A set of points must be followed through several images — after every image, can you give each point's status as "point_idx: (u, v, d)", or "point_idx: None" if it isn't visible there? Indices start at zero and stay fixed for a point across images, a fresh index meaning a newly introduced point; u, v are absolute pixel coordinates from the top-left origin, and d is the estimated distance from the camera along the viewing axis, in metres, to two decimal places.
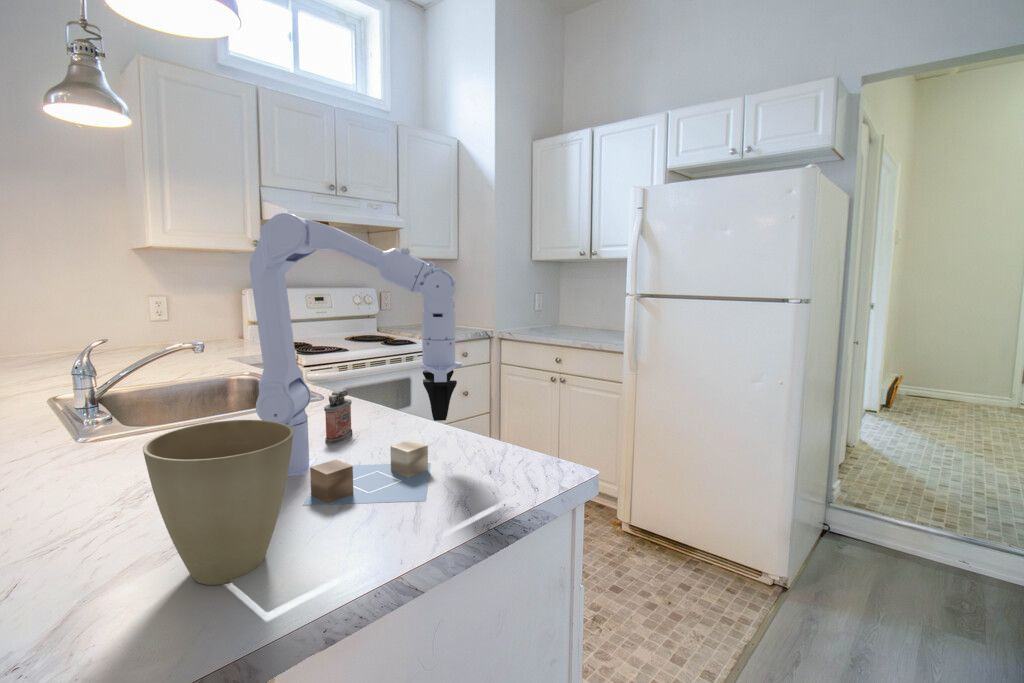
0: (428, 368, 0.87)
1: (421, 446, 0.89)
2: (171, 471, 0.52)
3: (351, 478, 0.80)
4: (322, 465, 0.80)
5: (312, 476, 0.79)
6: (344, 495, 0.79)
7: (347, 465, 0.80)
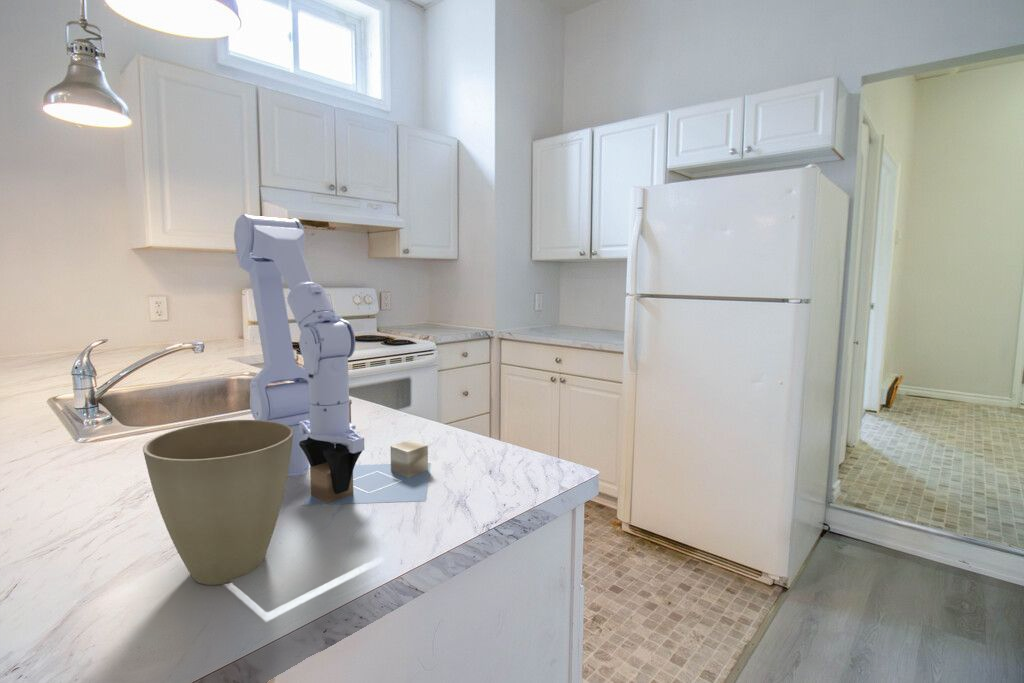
0: (333, 438, 0.75)
1: (421, 446, 0.89)
2: (171, 471, 0.52)
3: (351, 478, 0.80)
4: (322, 465, 0.80)
5: (312, 476, 0.79)
6: (344, 495, 0.79)
7: None
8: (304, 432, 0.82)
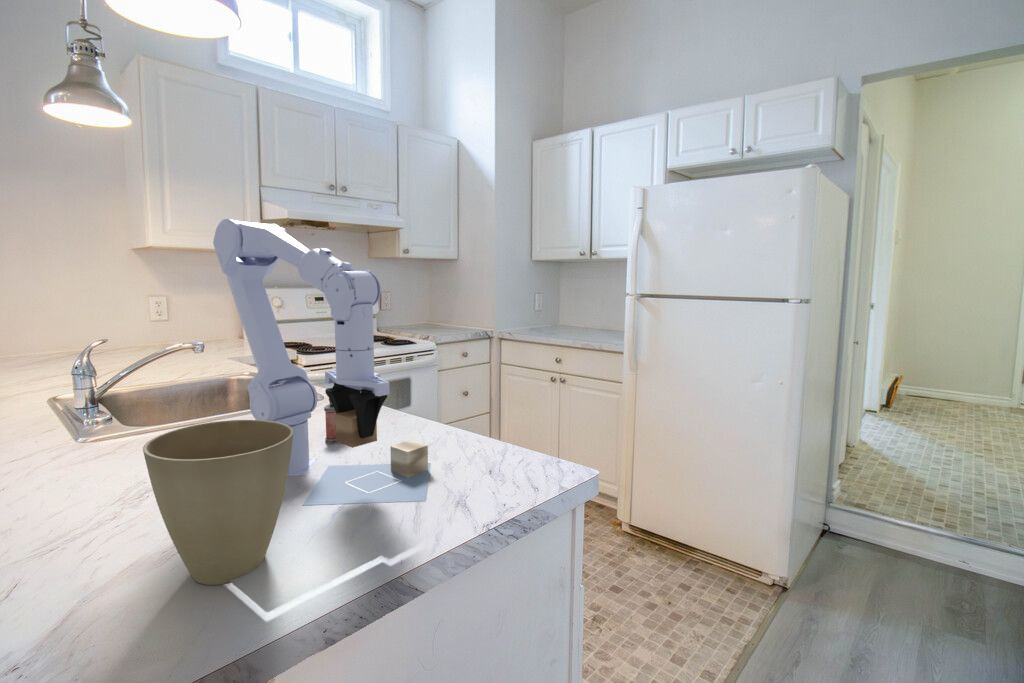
0: (359, 383, 0.77)
1: (421, 446, 0.89)
2: (171, 471, 0.52)
3: None
4: (347, 412, 0.82)
5: (337, 422, 0.81)
6: (368, 441, 0.81)
7: None
8: (330, 381, 0.84)
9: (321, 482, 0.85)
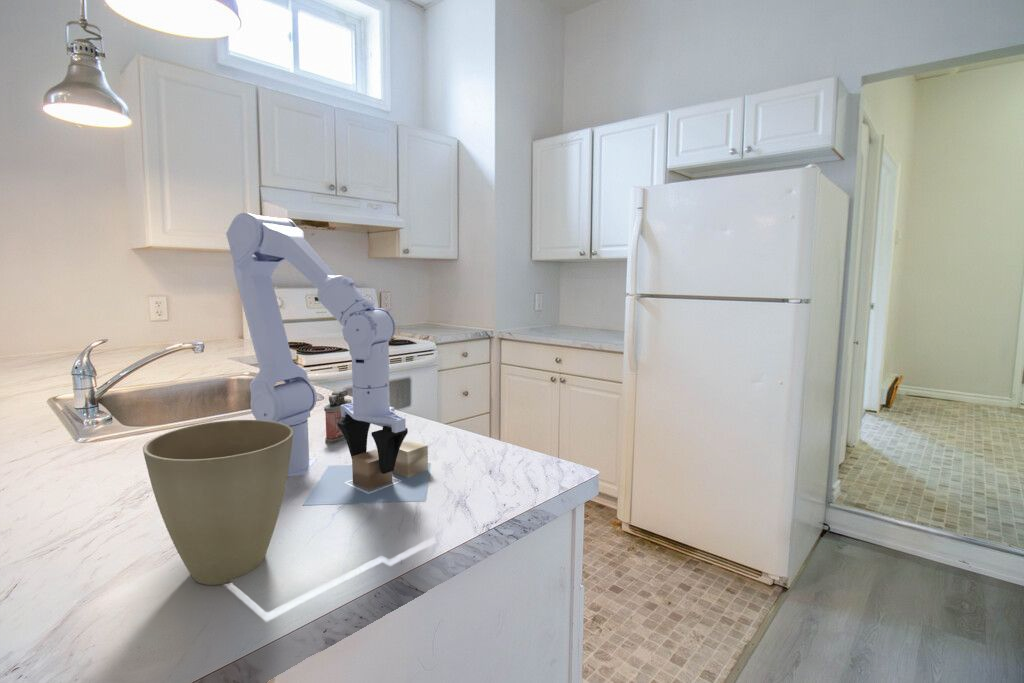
0: (376, 419, 0.80)
1: (421, 446, 0.89)
2: (171, 471, 0.52)
3: None
4: (363, 454, 0.85)
5: (354, 465, 0.84)
6: (384, 483, 0.84)
7: None
8: (345, 415, 0.87)
9: (321, 482, 0.85)
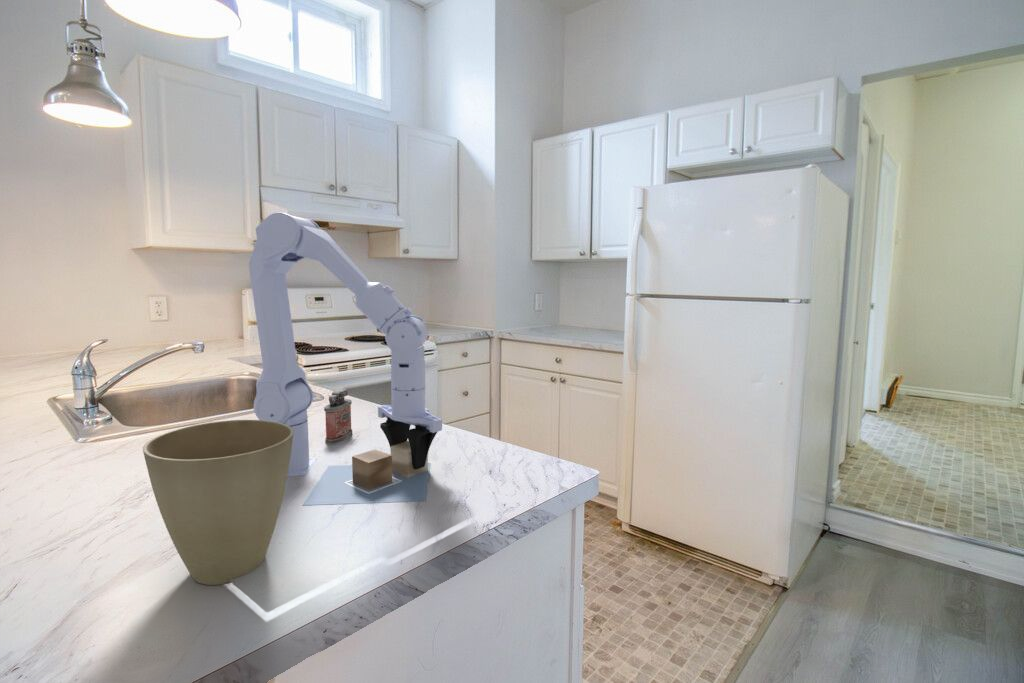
0: (414, 420, 0.85)
1: None
2: (171, 471, 0.52)
3: (390, 467, 0.85)
4: (363, 454, 0.85)
5: (354, 465, 0.84)
6: (384, 483, 0.84)
7: (386, 454, 0.85)
8: (382, 416, 0.92)
9: (321, 482, 0.85)
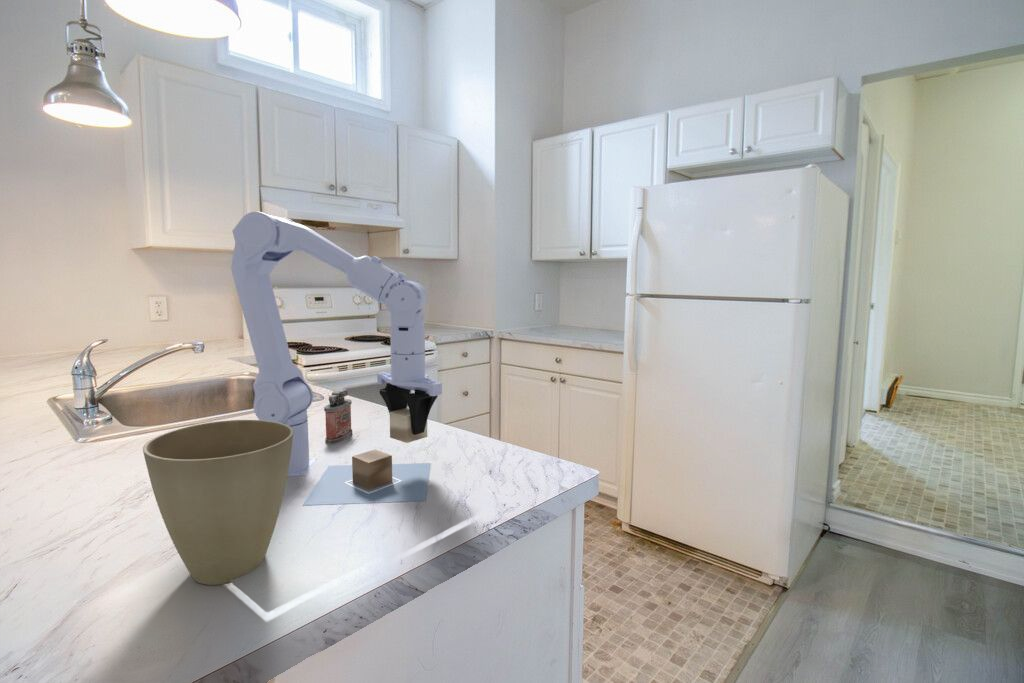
0: (414, 384, 0.84)
1: None
2: (171, 471, 0.52)
3: (390, 467, 0.85)
4: (363, 454, 0.85)
5: (354, 465, 0.84)
6: (384, 483, 0.84)
7: (386, 454, 0.85)
8: (382, 382, 0.92)
9: (321, 482, 0.85)
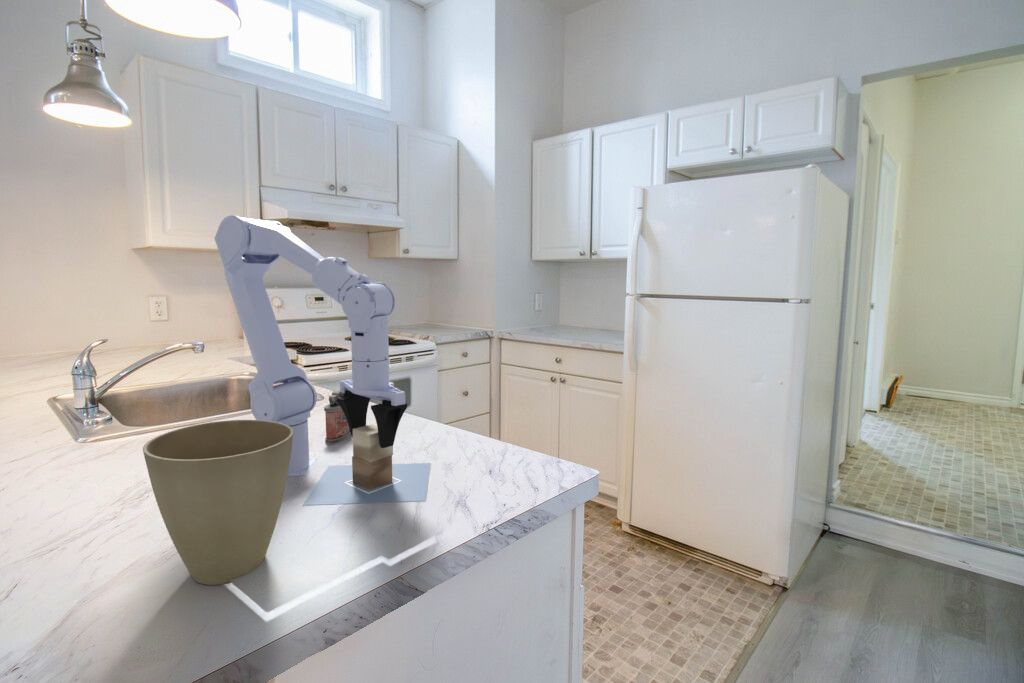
0: (375, 392, 0.79)
1: None
2: (171, 471, 0.52)
3: (390, 467, 0.85)
4: None
5: (354, 465, 0.84)
6: (384, 483, 0.84)
7: None
8: (344, 390, 0.87)
9: (321, 482, 0.85)
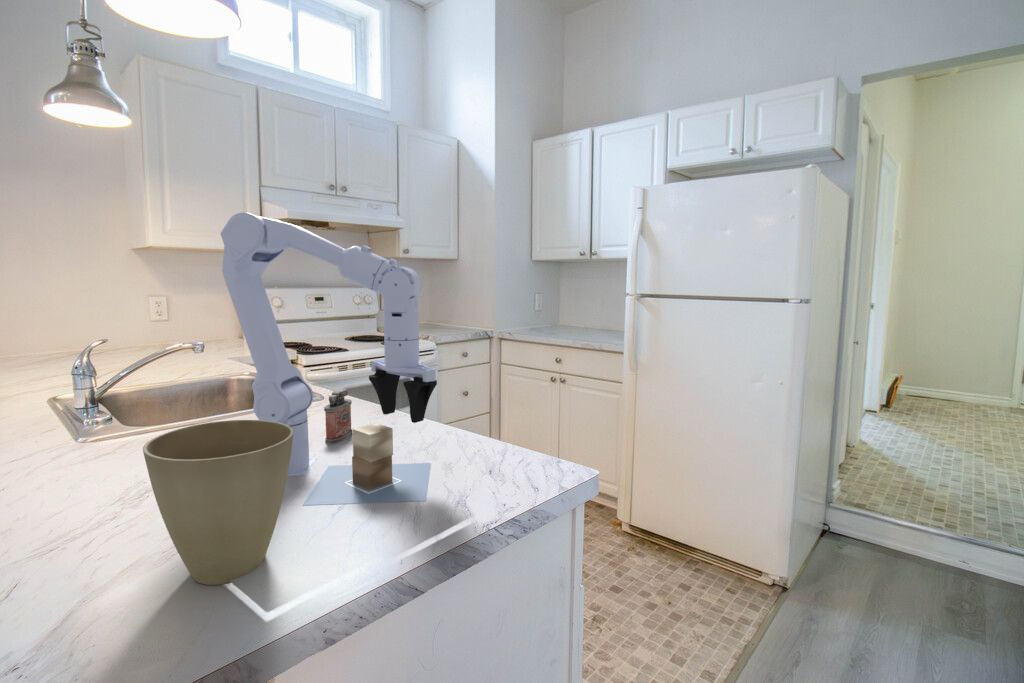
0: (408, 370, 0.84)
1: (385, 429, 0.84)
2: (171, 471, 0.52)
3: (390, 467, 0.85)
4: None
5: (354, 465, 0.84)
6: (384, 483, 0.84)
7: None
8: (376, 369, 0.91)
9: (321, 482, 0.85)
